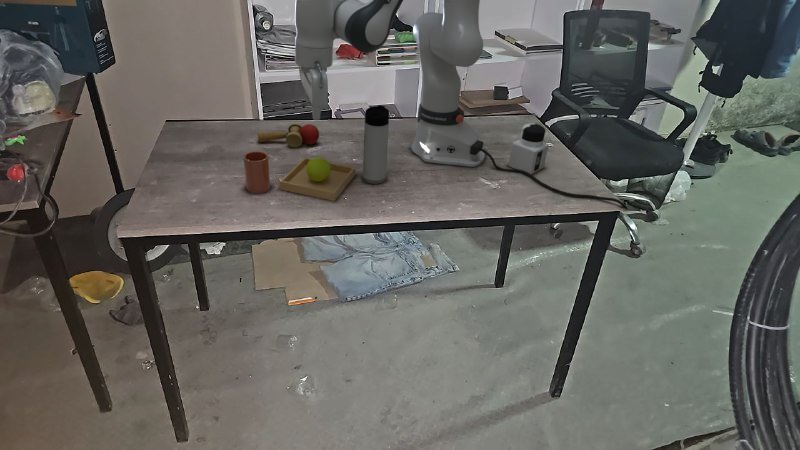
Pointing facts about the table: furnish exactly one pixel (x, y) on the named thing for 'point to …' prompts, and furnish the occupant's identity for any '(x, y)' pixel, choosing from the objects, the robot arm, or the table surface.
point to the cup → (257, 172)
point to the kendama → (293, 135)
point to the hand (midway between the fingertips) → (312, 111)
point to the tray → (324, 189)
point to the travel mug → (375, 144)
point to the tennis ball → (318, 169)
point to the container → (529, 149)
